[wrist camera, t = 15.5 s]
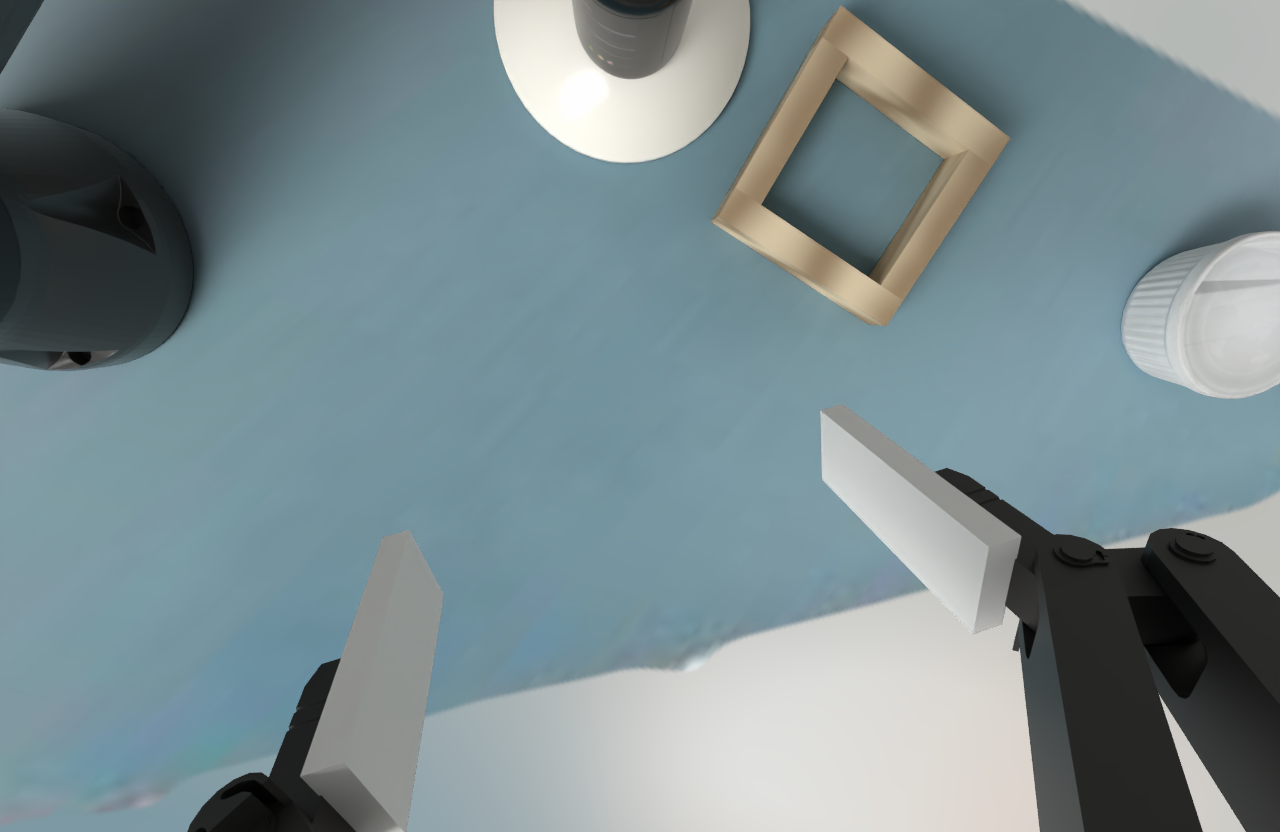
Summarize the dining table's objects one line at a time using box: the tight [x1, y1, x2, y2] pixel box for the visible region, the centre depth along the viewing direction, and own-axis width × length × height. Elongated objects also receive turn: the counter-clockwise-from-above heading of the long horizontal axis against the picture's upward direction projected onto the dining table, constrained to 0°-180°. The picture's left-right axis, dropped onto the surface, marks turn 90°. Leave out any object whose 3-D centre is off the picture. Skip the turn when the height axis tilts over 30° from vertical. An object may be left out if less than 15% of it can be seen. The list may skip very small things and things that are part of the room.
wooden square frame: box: [711, 6, 1010, 326], centre depth 34 cm, size 14×14×2 cm
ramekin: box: [1121, 231, 1280, 399], centre depth 37 cm, size 11×11×5 cm
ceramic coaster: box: [494, 0, 750, 164], centre depth 32 cm, size 16×16×1 cm
